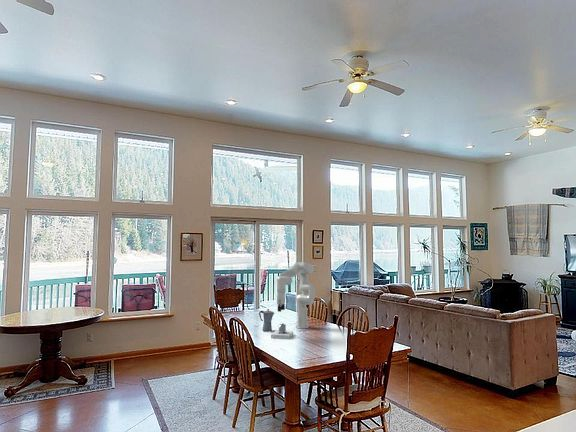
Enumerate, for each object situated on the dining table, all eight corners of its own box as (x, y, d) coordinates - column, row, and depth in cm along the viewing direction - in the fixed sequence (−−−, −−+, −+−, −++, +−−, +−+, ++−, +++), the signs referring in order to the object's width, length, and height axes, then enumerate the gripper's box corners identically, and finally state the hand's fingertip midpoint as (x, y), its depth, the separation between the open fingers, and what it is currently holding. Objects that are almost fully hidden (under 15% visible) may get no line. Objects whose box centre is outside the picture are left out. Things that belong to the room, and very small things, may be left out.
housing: (276, 333, 343) (276, 330, 343) (293, 334, 339) (293, 331, 339) (271, 338, 327) (270, 334, 327) (288, 339, 323) (288, 335, 323)
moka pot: (273, 332, 349) (273, 310, 350) (257, 331, 352) (257, 309, 353) (275, 329, 358) (275, 308, 360) (260, 329, 361) (260, 307, 363)
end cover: (279, 335, 336) (279, 322, 337) (286, 335, 335) (286, 322, 336) (278, 336, 331) (278, 323, 331) (284, 337, 329) (284, 324, 330)
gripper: (280, 290, 346) (280, 309, 344) (274, 291, 329) (274, 311, 328) (288, 290, 344) (288, 309, 342) (282, 292, 327) (282, 312, 326)
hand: (281, 310), depth 335 cm, fingers open, 9 cm apart
